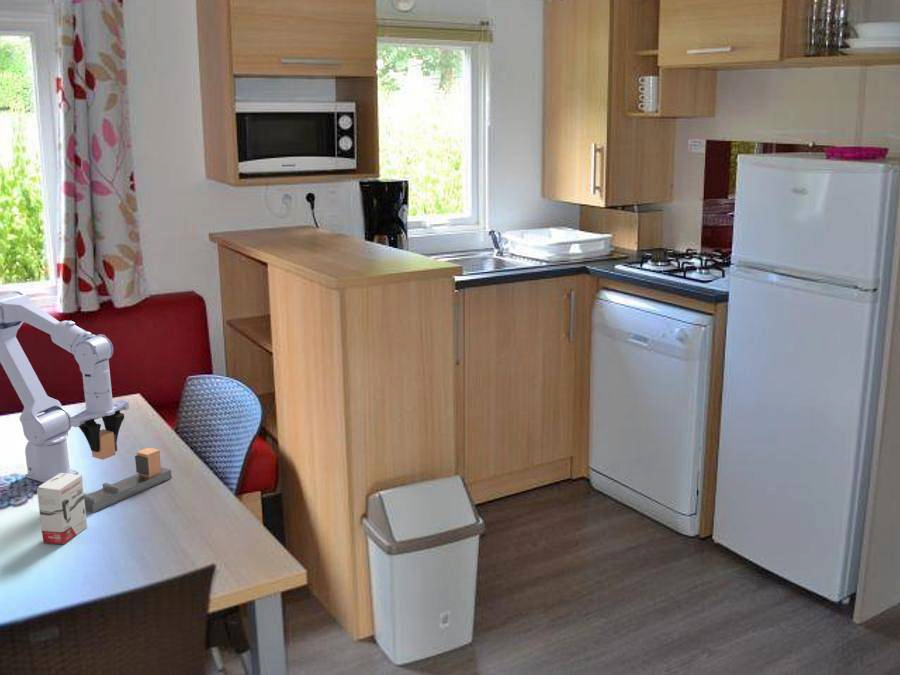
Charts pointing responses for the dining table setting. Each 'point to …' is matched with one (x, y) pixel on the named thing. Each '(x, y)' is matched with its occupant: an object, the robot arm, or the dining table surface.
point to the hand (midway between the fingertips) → (103, 447)
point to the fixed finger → (148, 462)
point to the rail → (123, 490)
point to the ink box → (62, 508)
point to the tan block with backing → (106, 445)
